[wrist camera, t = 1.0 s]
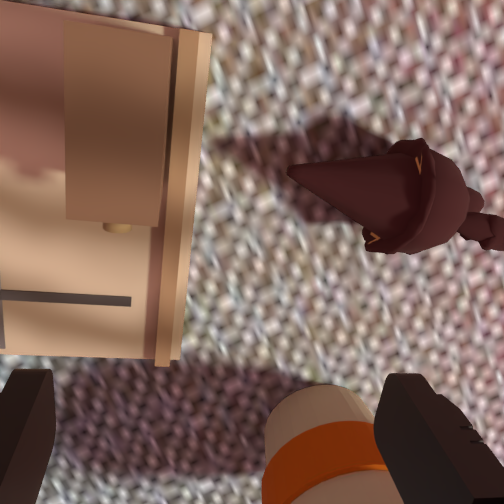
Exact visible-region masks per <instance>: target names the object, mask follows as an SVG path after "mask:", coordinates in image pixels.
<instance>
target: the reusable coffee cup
mask: <svg viewBox="0 0 504 504" xmlns="http://www.w3.org/2000/svg"><path fill="white" fill-rule="evenodd" d="M374 418H375V417H374V416H373V415H372V413H371V412H370V411H369V409H368V408H367V406H366V405H365V404H364V402H363V401H362V400H361V398H360V397H359V396H358V395H356V394H355V393H354V392H352V391H350V390H349V389H347V388H344V387H340V386H336V385H315V386H311V387H306V388H304V389H301V390H299V391H296V392H294V393H292V394H291V395H289V396H287V397H286V398H285V399H283V400H282V401H281V402H280V403H278V405H277V406H276V407H275V408H274V409H273V410H272V412H271V414H270V415H269V417H268V419H267V422H266V425H265V433H264V438H265V458H266V469H265V472H264V475H263V478H262V504H404V502H403V500H402V498H401V496H400V494H399V492H398V490H397V488H396V486H395V483H394V481H393V479H392V477H391V475H390V473H389V471H388V469H387V467H386V464H385V462H384V460H383V458H382V456H381V454H380V452H379V450H378V448H377V445H376V442H375V438H374V431H373V425H374Z"/></svg>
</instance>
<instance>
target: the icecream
mask: <svg viewBox="0 0 504 504" xmlns="http://www.w3.org/2000/svg"><path fill="white" fill-rule="evenodd" d="M286 173H287V176H289V177H290V178H292V179H293V180H294V181H296V182H297V183H299V184H300V185H302V186H303V187H305V188H306V189H308V190H309V191H311V192H312V193H314V194H315V195H317V196H318V197H320V198H321V199H323V200H324V201H326V202H327V203H329V204H330V205H332V206H333V207H335V208H336V209H338V210H339V211H341V212H342V213H344V214H345V215H347V216H348V217H350V218H351V219H353V220H354V221H356V222H357V223H359V224H360V225H362V226H363V230H362V235H363V238H364V240H365V241H366V242H365V249H366V251H369V252H379V253H385V254H395V253H396V252H402V253H406V254H409V255H411V254H415V253H418V252H421V251H423V250H426V249H429V248H432V247H435V246H438V245H440V244H443V243H446V242H448V241H449V240H450V239H451V237H452V236H453V235H454V234H455V233H456V232H458V233H460V236H461V237H463V238H464V239H465V240H471V239H472V240H475V241H478V242H479V244H480V246H481V247H482V249H484V250H490V249H493V250H497V251H504V218H501V217H499V216H497V215H492V214H483V213H479V212H480V211H481V209H482V208H483V207H484V200H483V198H482V196H481V194H480V193H479V192H477V191H475V190H473V189H471V188H469V187H466V184H465V182H464V179H463V176H462V174H461V171H460V170H459V168H458V167H457V166H456V165H455V163H454V162H453V161H452V160H451V159H449V158H447V157H445V156H443V155H441V154H439V153H437V152H435V151H433V150H431V149H429V146H428V145H427V144H426V142H425V140H424V139H423V138H419V139H416V140H400V141H398V142H396V143H395V144H394V145H393V146H392V147H391V148H390V149H389V151H388V152H387V153H386V155H377V156H369V157H361V158H352V159H344V160H335V161H327V162H317V163H307V164H298V165H291V166H289V167H288V169H287V172H286Z"/></svg>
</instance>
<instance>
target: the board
mask: <svg viewBox="0 0 504 504" xmlns="http://www.w3.org/2000/svg"><path fill="white" fill-rule="evenodd" d="M63 20H67V21H74V22H80V23H86V24H93V25H99V26H106V27H112V28H118V29H125V30H131V31H138V32H144V33H150V34H157V35H163V36H170V37H172V38H173V51H172V66H171V80H170V94H169V108H168V122H167V137H166V151H165V165H164V179H163V190H162V198H161V206H160V214H159V222H158V227H151V226H139V225H132V230H131V231H130V232H127V233H110V232H107V231H105V230H104V229H103V222H91V221H79V220H67V219H66V195H65V114H64V33H63ZM211 42H212V34H209V33H203V32H200V31H193V30H187V29H181V28H180V29H178V28H172V27H166V26H159V25H153V24H147V23H141V22H134V21H128V20H122V19H116V18H109V17H103V16H97V15H91V14H84V13H78V12H72V11H66V10H59V9H53V8H47V7H40V6H34V5H28V4H22V3H15V2H9V1H3V0H0V354H11V355H41V356H72V357H102V358H133V359H155V366H158V367H170V360H180V354H181V344H182V333H183V323H184V313H185V303H186V293H187V283H188V273H189V263H190V253H191V243H192V233H193V223H194V213H195V203H196V193H197V182H198V172H199V162H200V152H201V142H202V132H203V122H204V112H205V102H206V92H207V82H208V72H209V62H210V52H211Z"/></svg>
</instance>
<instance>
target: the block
mask: <svg viewBox="0 0 504 504" xmlns="http://www.w3.org/2000/svg"><path fill="white" fill-rule="evenodd" d="M63 33H64V114H65V195H66V219H67V220H79V221H91V222H103V229H104V230H105V231H107V232H110V233H127V232H130V231H131V230H132V225H139V226H151V227H158V222H159V214H160V206H161V198H162V190H163V179H164V165H165V151H166V137H167V122H168V108H169V94H170V80H171V66H172V51H173V38H172V37H170V36H163V35H157V34H150V33H144V32H138V31H131V30H125V29H118V28H112V27H106V26H99V25H93V24H86V23H80V22H74V21H67V20H63Z"/></svg>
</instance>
